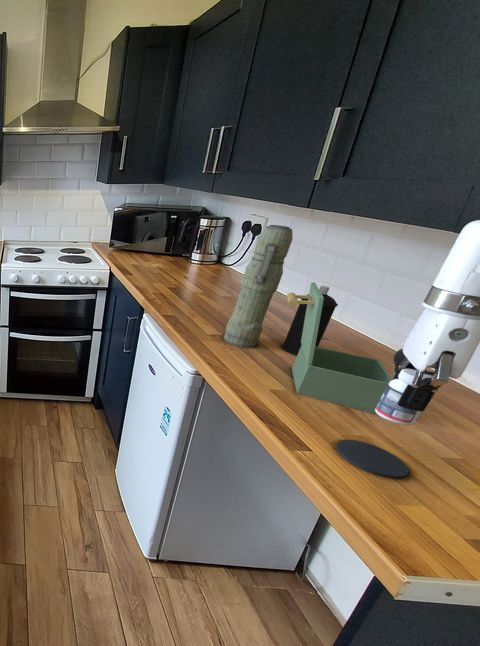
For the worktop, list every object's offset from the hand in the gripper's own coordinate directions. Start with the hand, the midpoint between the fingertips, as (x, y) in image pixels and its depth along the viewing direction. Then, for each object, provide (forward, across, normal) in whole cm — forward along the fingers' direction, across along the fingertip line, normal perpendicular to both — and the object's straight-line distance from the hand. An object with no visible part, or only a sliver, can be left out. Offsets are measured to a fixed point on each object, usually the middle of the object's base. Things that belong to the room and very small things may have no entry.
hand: (404, 399), depth 70 cm
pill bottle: (+4, 0, 0) cm, 4 cm away
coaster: (+13, 0, 0) cm, 13 cm away
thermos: (+14, +49, +22) cm, 55 cm away
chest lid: (-2, +29, +11) cm, 31 cm away
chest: (+13, +29, +2) cm, 32 cm away
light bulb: (+14, +44, -13) cm, 48 cm away
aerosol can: (+14, +52, +7) cm, 54 cm away
